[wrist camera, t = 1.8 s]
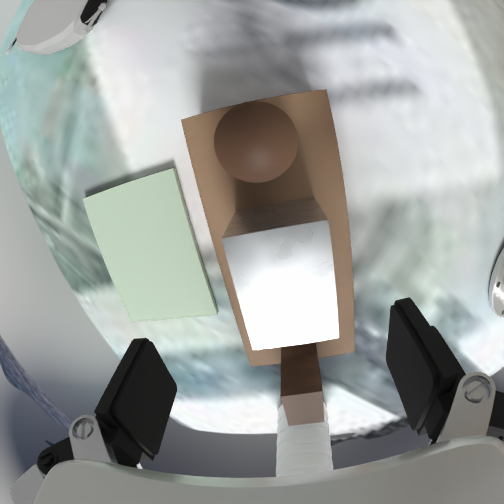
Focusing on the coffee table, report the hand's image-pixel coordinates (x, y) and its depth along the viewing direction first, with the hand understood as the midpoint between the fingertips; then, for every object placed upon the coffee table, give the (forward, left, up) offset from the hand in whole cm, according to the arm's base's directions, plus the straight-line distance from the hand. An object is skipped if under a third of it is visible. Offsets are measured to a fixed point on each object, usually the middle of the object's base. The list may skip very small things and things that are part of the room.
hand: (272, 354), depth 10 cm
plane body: (-1, 0, -14) cm, 14 cm away
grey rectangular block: (-1, 0, -9) cm, 9 cm away
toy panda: (+13, -29, -15) cm, 35 cm away
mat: (+12, 0, -14) cm, 19 cm away
